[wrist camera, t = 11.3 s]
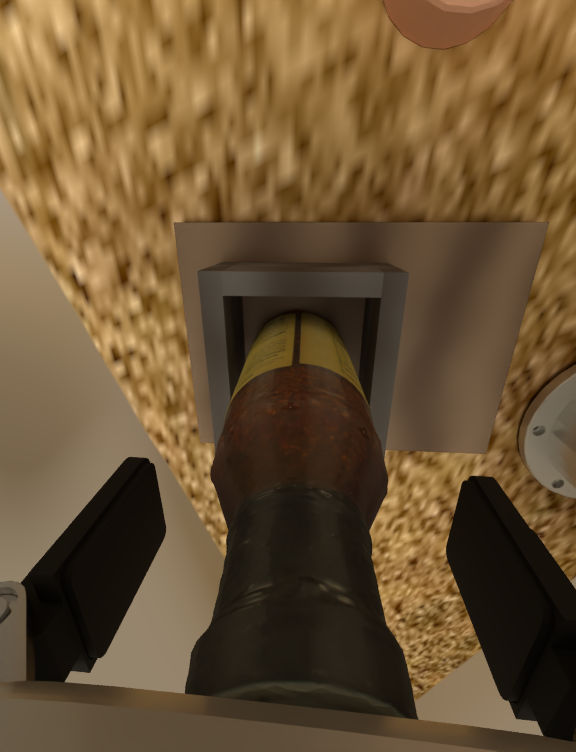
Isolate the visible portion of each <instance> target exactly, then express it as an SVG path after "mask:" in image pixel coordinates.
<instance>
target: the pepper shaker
mask: <svg viewBox="0 0 576 752" xmlns="http://www.w3.org/2000/svg"><path fill="white" fill-rule="evenodd" d="M383 1H384V4H385V7H386V10H387V13H388V15H389V18H390V19H391V20H392V22H393V23H394V24H395V25H396V27H397V28H398V29H399V31H400V32H401V33H402V34H403V36H405V37H406V38H408V39H410V40H412V41H413V42H415V43H417V44H419V45H420V46H422V47H428V48H438V49H447V48H450V47H454V46H457V45H461V44H464V43H467V42H469V41H470V40H472V39H473V38H475V37H476V36H477V35H479V34H480V33H482V32H483V31H485V30H486V29H488V28H489V27H490V26H491V25H492V24H493V22H494V21H495V20H496V19H497V18H498V17H499V16H500V14H501V13H502V12H503V11H504V10H505V9H506V8H507V6H508V5H509V4H510V3H511V2H512V1H513V0H383Z"/></svg>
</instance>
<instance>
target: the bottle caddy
mask: <svg viewBox="0 0 576 752" xmlns="http://www.w3.org/2000/svg"><path fill="white" fill-rule="evenodd" d="M548 224H549V222H243V223H174V228H175V237H176V245H177V253H178V262H179V270H180V278H181V287H182V295H183V303H184V312H185V320H186V328H187V337H188V345H189V353H190V362H191V370H192V378H193V387H194V395H195V403H196V412H197V420H198V428H199V437H200V443H215V453H216V449H217V443H218V441H219V438H220V436H221V433H222V431H223V426H224V419H225V415H226V411H227V408H228V406H229V403H230V401H231V398H232V396H233V393H234V391H235V388H236V386H237V383H238V381H239V378H240V375H241V373H242V370H243V367H244V365H245V362H246V359H247V357H248V354H249V351H250V349H251V346H252V344H253V341H254V339H255V337H256V336H257V334H258V333H259V331H260V330H261V329H262V328H263V326H264V325H265V324H266V323H268V322H269V321H270V320H272V319H273V318H275V317H276V316H277V315H279V314H282V313H284V312H287V311H292V310H301V311H305V312H309V313H313V314H316V315H319V316H320V317H322V318H324V319H326V320H328V321H329V322H330V323H331V324H332V325H333V327H334V328H335V329H336V330H337V331H338V333H339V334H340V336H341V337H342V339H343V341H344V343H345V346H346V349H347V351H348V354H349V357H350V359H351V362H352V365H353V367H354V370H355V372H356V375H357V377H358V380H359V382H360V385H361V388H362V390H363V392H364V395H365V398H366V400H367V402H368V405H369V407H370V411H371V414H372V418H373V425H374V428H375V430H376V432H377V435H378V437H379V438H380V440H381V445H382V451H383V457H385V450H400V451H426V452H451V453H477V454H486V451H487V447H488V443H489V440H490V436H491V432H492V429H493V425H494V421H495V418H496V414H497V411H498V407H499V403H500V400H501V396H502V392H503V389H504V385H505V381H506V378H507V374H508V370H509V367H510V363H511V359H512V356H513V352H514V348H515V345H516V341H517V338H518V334H519V330H520V327H521V323H522V319H523V316H524V312H525V308H526V305H527V301H528V297H529V294H530V290H531V286H532V283H533V279H534V275H535V272H536V268H537V265H538V261H539V257H540V254H541V250H542V246H543V243H544V239H545V235H546V232H547V228H548Z"/></svg>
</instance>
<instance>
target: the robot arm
mask: <svg viewBox="0 0 576 752" xmlns="http://www.w3.org/2000/svg"><path fill="white" fill-rule="evenodd" d="M518 443H519V452H520V455H521V458H522V460H523V463H524V465H525V466H526V467H527V469H528V470H529V471H530V473H531V474H532V475H533V476H534V477H535V478H536V479H537V480H538V481H539V482H540V483H541V484H542V485H543V486H545V487H546V488H547V489H549V490H551V491H553V492H555V493H558V494H560V495H563V496H565V497H570V498H575V499H576V364H575V365H573V366H572V367H570V368H569V369H567V370H566V371H564V372H562V373H561V374H559V375H558V376H557V377H556V378H555V379H553V380H552V381H551V382H550V383H549V384H548V385H546V386H545V387H544V388H543V389H542V391H541V392H540V393H539V394H538V395H537V396H536V398H535V399H534V400H533V401H532V403H531V405H530V406H529V408H528V410H527V411H526V413H525V415H524V418H523V421H522V423H521V426H520V431H519V439H518ZM165 533H166V524H165V520H164V514H163V508H162V502H161V497H160V492H159V486H158V481H157V475H156V470H155V466H154V464H153V463H150V461H149V459H147V458H138V457H128V458H127V459H126V460H125V461H124V462H123V463H122V464H121V465H120V467H119V468H118V469H117V470H116V471H115V472H114V474H113V475H112V476H111V477H110V478H109V479H108V481H107V482H106V483H105V484H104V485H103V487H102V488H101V489H100V490H99V491H98V492H97V494H96V495H95V496H94V497H93V498H92V500H91V501H90V502H89V503H88V504H87V505H86V506H85V508H84V509H83V510H82V511H81V512H80V514H79V515H78V516H77V517H76V518H75V519H74V521H73V522H72V523H71V524H70V525H69V526H68V528H67V529H66V530H65V531H64V533H63V534H62V535H61V536H60V537H59V538H58V540H56V542H55V543H54V544H53V545H52V546H51V548H50V549H49V550H48V551H47V552H46V553H45V555H44V556H43V557H42V558H41V559H40V560H39V562H38V563H37V564H36V565H35V566H34V567H33V569H32V570H31V571H30V572H29V573H28V575H27V576H26V577H25V579H24V580H23V581H22V582H21V583H19V582H14V581H6V582H0V752H576V589H575V588H574V586H573V585H572V583H571V582H570V581H569V579H568V578H567V576H566V575H565V574H564V572H563V571H562V569H561V568H560V567H559V565H558V564H557V562H556V561H555V560H554V558H553V557H552V555H551V554H550V553H549V551H548V550H547V548H546V547H545V546H544V544H543V543H542V541H541V540H540V539H539V537H538V536H537V534H536V533H535V532H534V531H533V530H532V529H530V528H529V526H528V525H527V524H526V522H525V521H524V519H523V518H522V516H521V515H520V514H519V512H518V511H517V509H516V508H515V507H514V505H513V504H512V502H511V501H510V499H509V498H508V497H507V495H506V494H505V492H504V491H503V490H502V488H501V487H500V485H499V484H498V482H497V481H496V480H495V479H494V478H493V477H484V476H470V477H469V479H468V481H463V483H462V486H461V490H460V494H459V498H458V502H457V506H456V510H455V514H454V518H453V522H452V526H451V530H450V534H449V538H448V542H447V546H446V555H447V559H448V562H449V565H450V567H451V570H452V573H453V575H454V578H455V580H456V583H457V586H458V588H459V591H460V593H461V596H462V598H463V601H464V604H465V606H466V609H467V611H468V614H469V617H470V619H471V622H472V624H473V627H474V629H475V632H476V635H477V637H478V640H479V642H480V645H481V648H482V650H483V653H484V655H485V658H486V660H487V662H488V665H489V668H490V671H491V673H492V676H493V679H494V681H495V684H496V686H497V689H498V691H499V693H500V695H501V697H502V698H503V699H504V700H506V701H509V702H510V705H511V707H512V710H513V713H514V715H515V717H516V719H522V720H531V721H537V722H538V724H539V727H540V729H541V731H542V733H543V735H544V736H539V735H532V734H525V733H518V732H510V731H503V730H495V729H489V728H481V727H474V726H466V725H459V724H450V723H442V722H433V721H424V720H416V719H407V718H399V717H390V716H382V715H373V714H364V713H356V712H347V711H338V710H329V709H320V708H311V707H302V706H293V705H284V704H275V703H266V702H257V701H248V700H239V699H230V698H220V697H211V696H201V695H192V694H182V693H173V692H163V691H154V690H144V689H133V688H125V687H114V686H103V685H91V684H78V683H66V682H65V680H66V678H67V677H68V675H69V673H70V671H78V672H87V673H90V672H91V670H92V668H93V666H94V664H95V662H96V660H97V658H101V657H103V656H104V655H105V653H106V652H107V650H108V648H109V646H110V644H111V642H112V640H113V638H114V636H115V634H116V632H117V630H118V628H119V626H120V624H121V622H122V620H123V618H124V616H125V615H126V613H127V610H128V608H129V607H130V605H131V603H132V601H133V599H134V596H135V595H136V593H137V591H138V589H139V587H140V585H141V583H142V581H143V579H144V577H145V575H146V573H147V571H148V569H149V567H150V565H151V563H152V561H153V559H154V557H155V555H156V553H157V551H158V549H159V548H160V546H161V544H162V542H163V539H164V537H165Z"/></svg>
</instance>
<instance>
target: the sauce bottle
mask: <svg viewBox="0 0 576 752" xmlns="http://www.w3.org/2000/svg"><path fill="white" fill-rule="evenodd" d="M210 476H211V481H212V482H213V484H214V486H215V489H216V492H217V495H218V498H219V502H220V505H221V508H222V511H223V514H224V518H225V521H226V524H227V527H228V535H227V539H226V545H227V550H226V553H227V554H226V558H225V561H224V570H223V574H222V577H221V580H220V586H219V593H218V597H217V600H216V604H215V608H214V612H213V618H212V621H211V624H210V626H209V628H208V629H207V630H206V631H205V632H204V633H203V635H202V636H201V637H200V638H199V639H198V640H197V642H196V644H195V646H194V648H193V650H192V652H191V659H190V668H189V673H188V677H187V682H186V687H185V694H192V695H201V696H211V697H220V698H230V699H239V700H248V701H257V702H266V703H275V704H284V705H293V706H302V707H311V708H320V709H329V710H338V711H347V712H356V713H364V714H373V715H382V716H390V717H399V718H407V719H416V720H418V717H417V714H416V708H415V703H414V698H413V690H412V686H411V682H410V678H409V674H408V668H407V664H406V661H405V657H404V654H403V650H402V648H401V647H400V646H399V644H398V642H397V640H396V639H395V637H394V635H393V634H392V632H391V631H390V629H389V628H388V627H387V625H386V621H385V616H384V612H383V608H382V603H381V599H380V595H379V590H378V584H377V579H376V575H375V571H374V566H373V561H372V558H371V556H372V540H371V536H370V533H369V530H370V528H371V526H372V524H373V522H374V519H375V517H376V515H377V513H378V510H379V508H380V506H381V504H382V502H383V500H384V498H385V496H386V495H387V485H388V475H387V471H386V466H385V462H384V457H383V451H382V445H381V440H380V438H379V437H378V435H377V432H376V430H375V428H374V425H373V418H372V414H371V411H370V407H369V405H368V402H367V400H366V398H365V395H364V392H363V390H362V388H361V385H360V382H359V380H358V377H357V375H356V372H355V370H354V367H353V365H352V362H351V359H350V357H349V354H348V351H347V349H346V346H345V343H344V341H343V339H342V337H341V336H340V334H339V333H338V331H337V330H336V329H335V328H334V327H333V325H332V324H331V323H330V322H329V321H328V320H326V319H324V318H322V317H320V316H319V315H316V314H313V313H309V312H305V311H301V310H292V311H287V312H284V313H282V314H279V315H277V316H276V317H275V318H273V319H272V320H270V321H269V322H268V323H266V324H265V325H264V326H263V328H262V329H261V330H260V331H259V333H258V334H257V336H256V337H255V339H254V341H253V344H252V346H251V349H250V351H249V354H248V357H247V359H246V362H245V365H244V367H243V370H242V373H241V375H240V378H239V381H238V383H237V386H236V388H235V391H234V393H233V396H232V398H231V401H230V403H229V406H228V408H227V411H226V415H225V419H224V426H223V431H222V433H221V436H220V438H219V441H218V443H217V449H216V453H215V458H214V461H213V465H212V467H211V474H210Z"/></svg>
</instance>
